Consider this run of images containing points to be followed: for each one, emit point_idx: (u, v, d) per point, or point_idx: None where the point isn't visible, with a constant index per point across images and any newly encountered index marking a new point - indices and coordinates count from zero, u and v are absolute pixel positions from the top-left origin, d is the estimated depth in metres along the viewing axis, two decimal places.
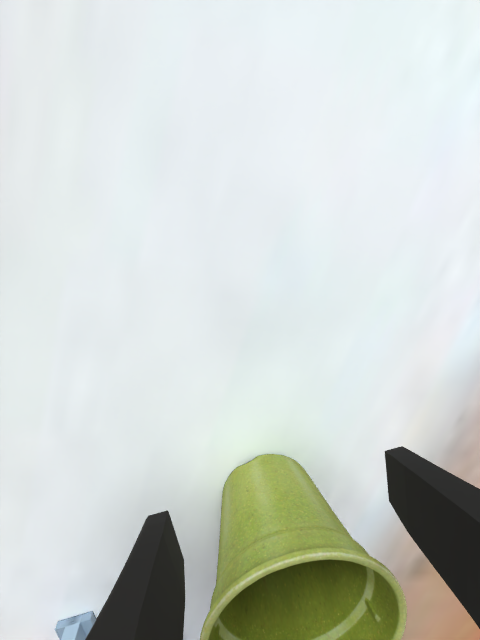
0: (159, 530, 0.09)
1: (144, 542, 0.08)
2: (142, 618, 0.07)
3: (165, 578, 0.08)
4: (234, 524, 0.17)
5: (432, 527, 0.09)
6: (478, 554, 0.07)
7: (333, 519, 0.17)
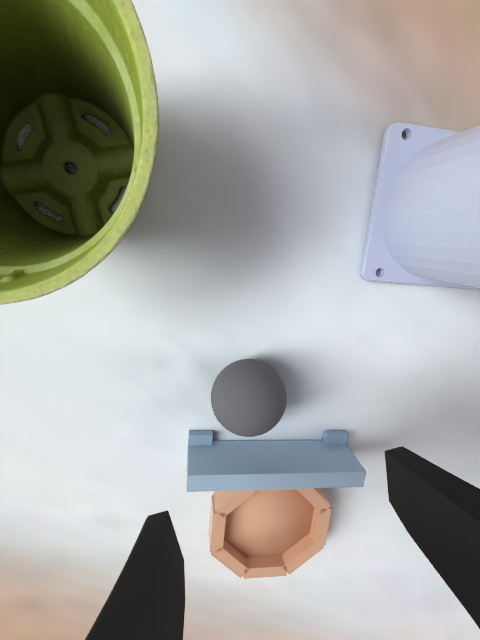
0: (159, 530, 0.09)
1: (144, 542, 0.08)
2: (142, 618, 0.07)
3: (165, 578, 0.08)
4: None
5: (432, 527, 0.09)
6: (478, 554, 0.07)
7: None
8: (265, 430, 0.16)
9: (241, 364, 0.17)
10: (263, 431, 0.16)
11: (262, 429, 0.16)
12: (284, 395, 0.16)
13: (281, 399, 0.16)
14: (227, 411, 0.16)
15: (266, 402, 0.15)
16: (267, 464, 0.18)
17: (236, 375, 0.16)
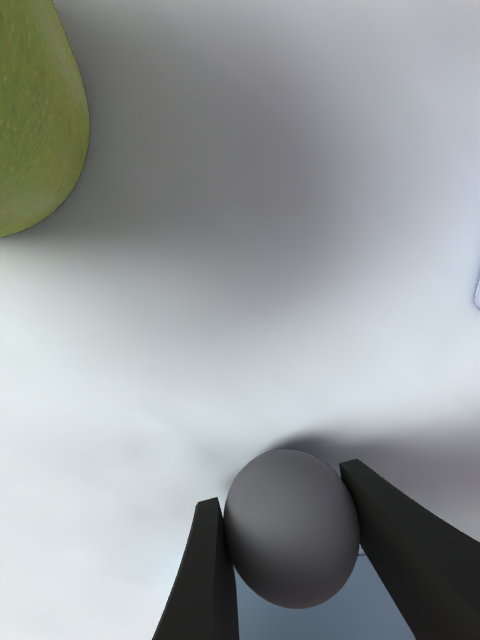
0: (214, 515, 0.09)
1: (201, 526, 0.09)
2: (214, 596, 0.07)
3: (223, 561, 0.08)
4: None
5: (378, 543, 0.09)
6: (414, 574, 0.07)
7: None
8: (326, 600, 0.08)
9: (279, 470, 0.09)
10: (323, 602, 0.09)
11: None
12: (358, 528, 0.09)
13: (356, 541, 0.09)
14: (256, 573, 0.08)
15: (333, 558, 0.08)
16: (318, 625, 0.11)
17: (272, 499, 0.08)
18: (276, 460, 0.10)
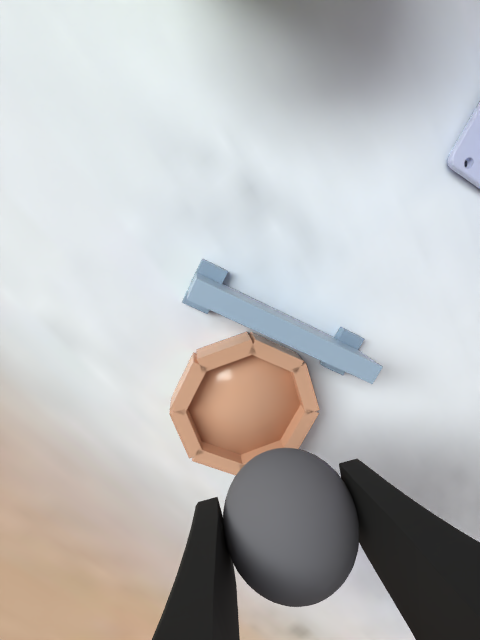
0: (214, 515, 0.09)
1: (201, 526, 0.09)
2: (214, 596, 0.07)
3: (223, 561, 0.08)
4: None
5: (378, 543, 0.09)
6: (414, 574, 0.07)
7: None
8: (327, 597, 0.09)
9: (279, 468, 0.09)
10: (323, 599, 0.09)
11: None
12: (358, 525, 0.09)
13: (356, 538, 0.09)
14: (257, 571, 0.08)
15: (334, 555, 0.08)
16: (282, 317, 0.15)
17: (273, 497, 0.08)
18: (276, 458, 0.10)
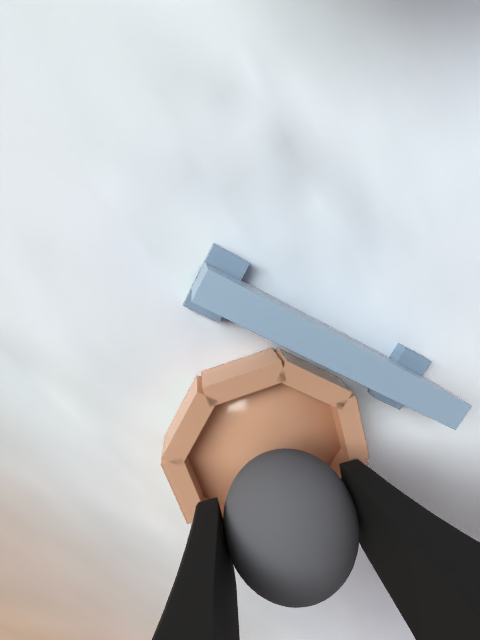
0: (214, 515, 0.09)
1: (201, 526, 0.09)
2: (215, 596, 0.07)
3: (223, 561, 0.08)
4: None
5: (378, 543, 0.09)
6: (414, 574, 0.07)
7: None
8: (327, 598, 0.09)
9: (279, 469, 0.09)
10: (323, 600, 0.09)
11: (323, 600, 0.08)
12: (358, 526, 0.09)
13: (356, 538, 0.09)
14: (257, 571, 0.08)
15: (334, 556, 0.08)
16: (330, 331, 0.10)
17: (273, 498, 0.08)
18: (276, 459, 0.10)
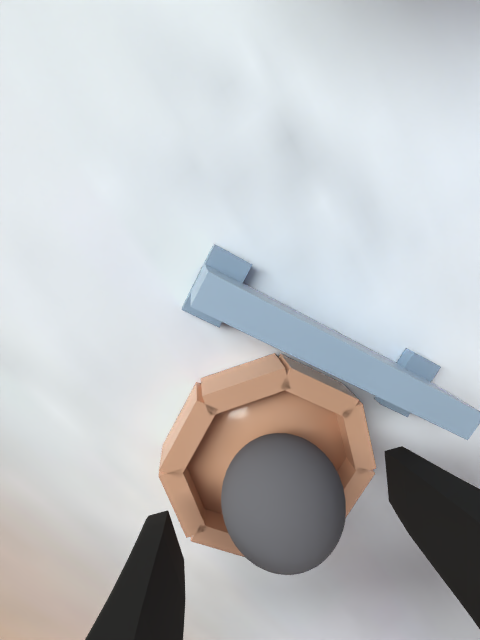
0: (159, 530, 0.09)
1: (144, 542, 0.09)
2: (142, 618, 0.07)
3: (165, 578, 0.08)
4: None
5: (432, 527, 0.09)
6: (478, 554, 0.07)
7: None
8: None
9: (272, 450, 0.10)
10: (312, 568, 0.09)
11: (312, 568, 0.09)
12: (344, 501, 0.10)
13: (342, 512, 0.10)
14: (252, 541, 0.09)
15: (321, 526, 0.09)
16: (337, 336, 0.10)
17: (266, 475, 0.09)
18: (269, 441, 0.10)
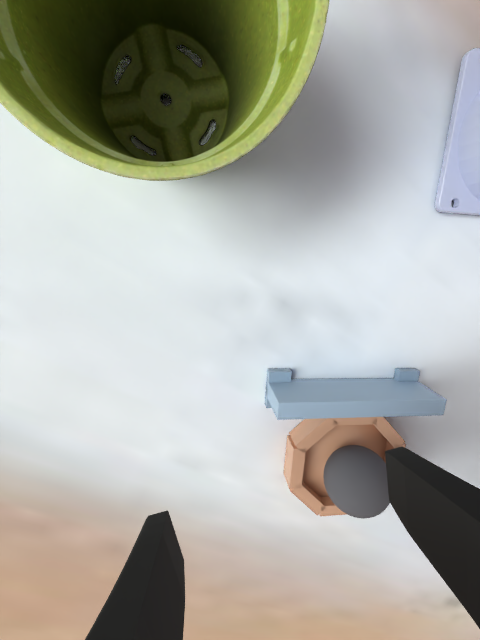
0: (159, 530, 0.09)
1: (144, 542, 0.08)
2: (142, 618, 0.07)
3: (165, 578, 0.08)
4: (75, 114, 0.11)
5: (432, 527, 0.09)
6: (478, 554, 0.07)
7: None
8: (385, 508, 0.18)
9: (342, 461, 0.19)
10: (384, 509, 0.19)
11: (384, 509, 0.18)
12: None
13: None
14: (349, 508, 0.18)
15: (379, 490, 0.18)
16: (350, 395, 0.19)
17: (343, 475, 0.18)
18: (339, 456, 0.19)
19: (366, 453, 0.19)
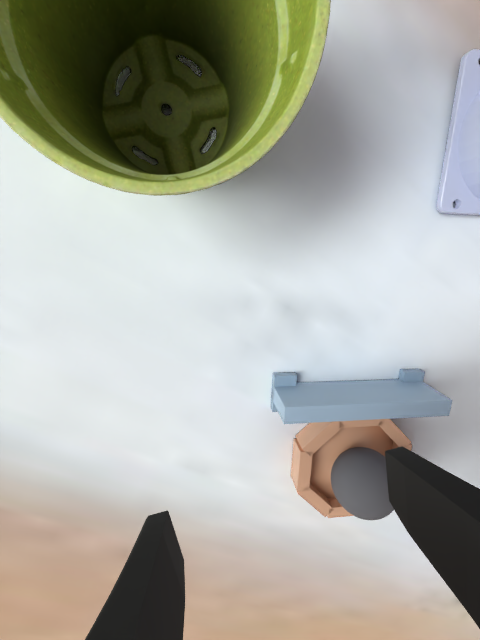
0: (159, 530, 0.09)
1: (144, 542, 0.08)
2: (142, 618, 0.07)
3: (165, 578, 0.08)
4: (78, 129, 0.12)
5: (432, 527, 0.09)
6: (478, 554, 0.07)
7: None
8: (393, 509, 0.19)
9: (349, 464, 0.19)
10: None
11: (391, 511, 0.18)
12: None
13: None
14: (357, 510, 0.18)
15: (386, 493, 0.18)
16: (356, 397, 0.19)
17: (351, 478, 0.19)
18: (346, 459, 0.20)
19: (373, 455, 0.19)
